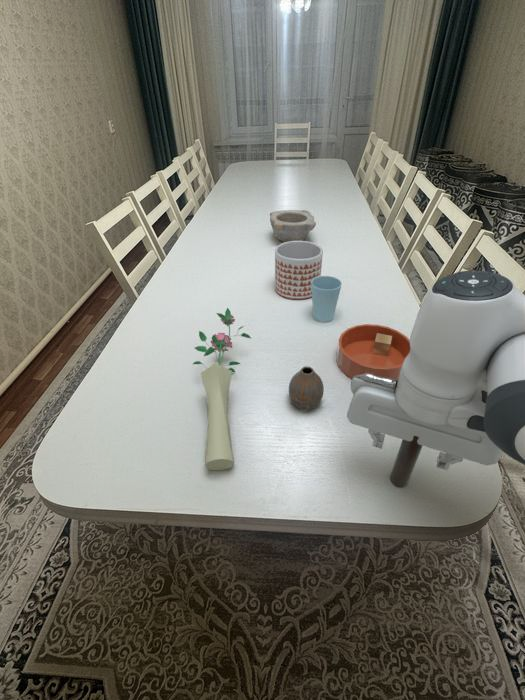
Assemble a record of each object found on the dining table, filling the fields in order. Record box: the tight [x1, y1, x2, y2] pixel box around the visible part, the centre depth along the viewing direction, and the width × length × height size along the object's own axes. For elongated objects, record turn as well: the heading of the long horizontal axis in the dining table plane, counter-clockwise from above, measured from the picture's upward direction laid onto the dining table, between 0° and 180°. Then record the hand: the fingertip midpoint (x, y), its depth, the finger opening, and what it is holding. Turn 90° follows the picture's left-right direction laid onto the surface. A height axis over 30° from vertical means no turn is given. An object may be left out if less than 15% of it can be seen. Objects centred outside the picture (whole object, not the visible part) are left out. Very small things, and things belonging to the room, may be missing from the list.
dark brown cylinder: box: [389, 436, 423, 488], centre depth 55 cm, size 3×3×13 cm
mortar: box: [269, 209, 317, 243], centre depth 139 cm, size 17×17×9 cm
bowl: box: [336, 323, 410, 380], centre depth 81 cm, size 16×16×5 cm
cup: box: [311, 275, 342, 323], centre depth 95 cm, size 8×8×10 cm
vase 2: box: [274, 240, 324, 300], centre depth 106 cm, size 14×14×13 cm
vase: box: [288, 365, 325, 411], centre depth 71 cm, size 7×7×9 cm
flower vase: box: [192, 307, 252, 471], centre depth 72 cm, size 12×12×35 cm
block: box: [373, 333, 392, 356], centre depth 84 cm, size 4×4×4 cm
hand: (408, 454), depth 55 cm, fingers open, 8 cm apart
